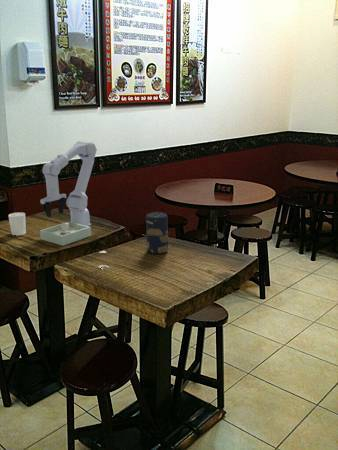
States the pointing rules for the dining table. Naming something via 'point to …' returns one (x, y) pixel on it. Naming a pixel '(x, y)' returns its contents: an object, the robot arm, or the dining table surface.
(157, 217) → the canister
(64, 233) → the peg
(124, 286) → the dining table surface
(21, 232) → the white cup
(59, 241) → the caddy
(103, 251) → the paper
